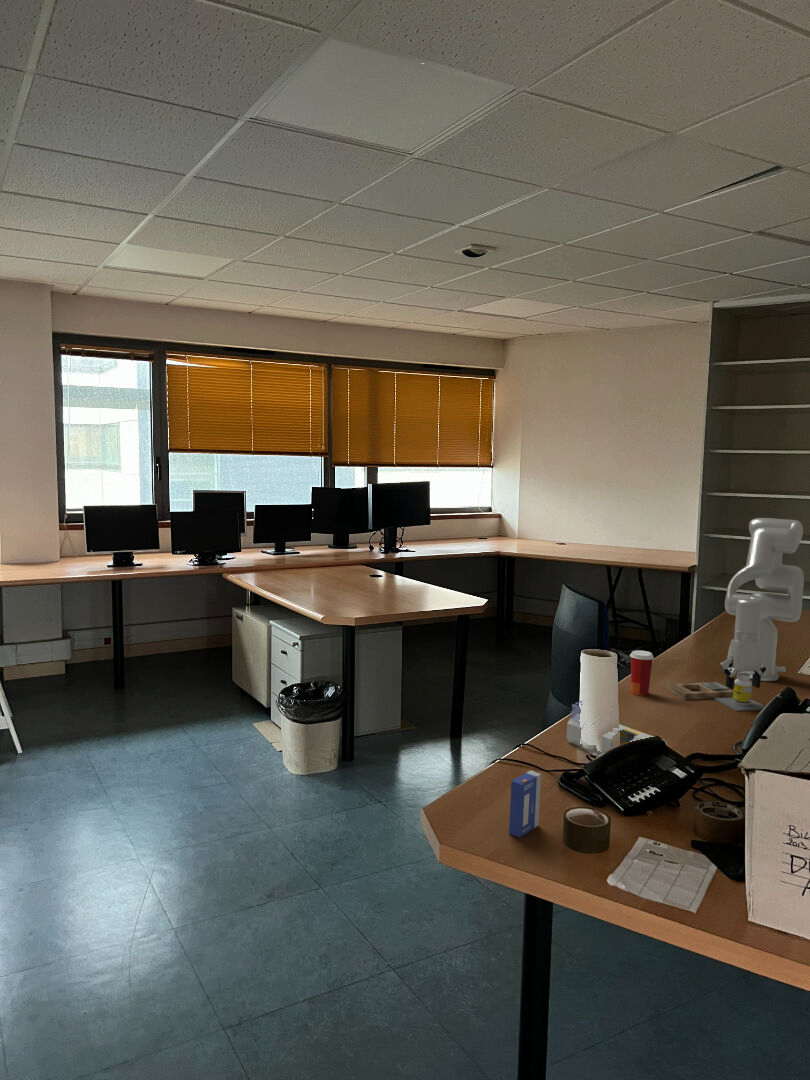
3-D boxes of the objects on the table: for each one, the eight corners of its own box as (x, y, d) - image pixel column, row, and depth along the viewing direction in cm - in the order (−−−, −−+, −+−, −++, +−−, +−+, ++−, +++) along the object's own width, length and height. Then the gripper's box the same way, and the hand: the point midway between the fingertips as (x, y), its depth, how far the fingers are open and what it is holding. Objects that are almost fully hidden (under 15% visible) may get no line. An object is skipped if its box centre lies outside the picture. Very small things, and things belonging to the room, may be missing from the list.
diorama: (565, 743, 218) (568, 698, 217) (589, 736, 224) (592, 692, 223) (641, 774, 199) (645, 724, 197) (665, 765, 205) (668, 717, 203)
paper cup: (651, 691, 268) (654, 651, 267) (650, 697, 261) (653, 656, 259) (628, 688, 271) (630, 649, 269) (626, 694, 263) (629, 654, 262)
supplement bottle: (729, 700, 259) (731, 671, 258) (745, 700, 259) (747, 671, 258) (737, 705, 254) (740, 676, 252) (753, 705, 254) (756, 676, 253)
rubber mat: (745, 697, 264) (745, 696, 264) (769, 709, 252) (769, 708, 252) (714, 699, 261) (714, 698, 261) (736, 711, 249) (737, 709, 249)
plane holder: (715, 687, 274) (715, 680, 274) (734, 697, 264) (735, 689, 264) (666, 689, 270) (667, 682, 270) (684, 699, 260) (685, 692, 259)
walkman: (520, 838, 163) (522, 783, 162) (508, 833, 165) (511, 779, 163) (539, 825, 169) (542, 772, 168) (528, 821, 171) (531, 768, 169)
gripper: (762, 633, 259) (758, 683, 261) (716, 634, 256) (712, 685, 258) (777, 638, 252) (773, 689, 254) (730, 639, 248) (726, 692, 250)
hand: (742, 687), depth 256 cm, fingers open, 9 cm apart
